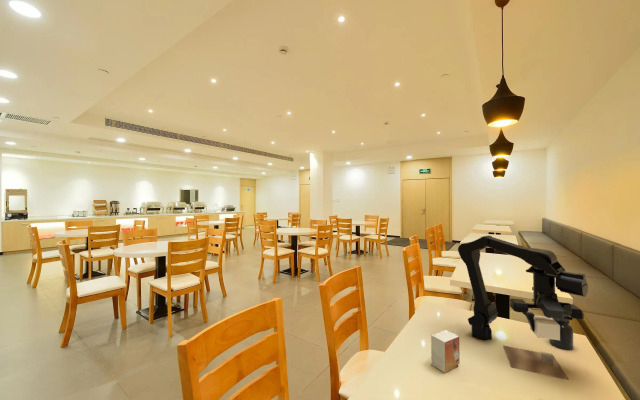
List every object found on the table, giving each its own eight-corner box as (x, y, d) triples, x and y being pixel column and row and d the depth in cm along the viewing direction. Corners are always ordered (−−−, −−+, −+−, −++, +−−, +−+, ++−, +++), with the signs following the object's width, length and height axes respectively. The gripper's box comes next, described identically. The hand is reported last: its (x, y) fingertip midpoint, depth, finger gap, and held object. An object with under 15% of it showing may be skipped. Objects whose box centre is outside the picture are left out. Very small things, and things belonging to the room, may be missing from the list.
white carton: (537, 337, 88) (537, 322, 88) (530, 328, 93) (530, 314, 93) (560, 340, 86) (559, 325, 86) (551, 331, 91) (551, 316, 91)
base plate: (511, 370, 88) (511, 367, 88) (502, 347, 101) (502, 345, 101) (569, 383, 82) (569, 380, 82) (552, 357, 94) (552, 354, 94)
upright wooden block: (542, 363, 90) (542, 353, 90) (541, 361, 91) (541, 351, 91) (553, 366, 88) (553, 355, 88) (552, 363, 89) (552, 353, 89)
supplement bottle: (578, 353, 96) (578, 321, 96) (556, 352, 98) (556, 320, 97) (564, 343, 103) (564, 313, 103) (545, 341, 104) (544, 312, 104)
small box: (444, 373, 87) (444, 342, 87) (430, 364, 92) (430, 334, 92) (460, 366, 91) (460, 336, 91) (445, 357, 96) (445, 329, 96)
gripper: (519, 292, 85) (520, 340, 85) (594, 299, 78) (594, 351, 79) (508, 282, 95) (509, 324, 96) (573, 287, 89) (574, 332, 89)
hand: (544, 332), depth 90 cm, fingers closed on white carton, 6 cm apart
